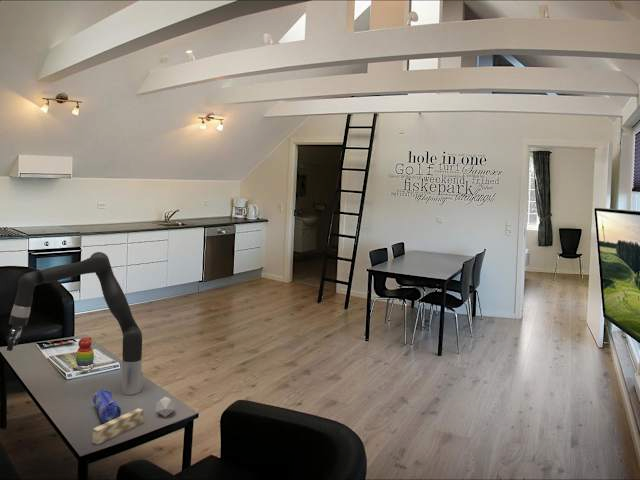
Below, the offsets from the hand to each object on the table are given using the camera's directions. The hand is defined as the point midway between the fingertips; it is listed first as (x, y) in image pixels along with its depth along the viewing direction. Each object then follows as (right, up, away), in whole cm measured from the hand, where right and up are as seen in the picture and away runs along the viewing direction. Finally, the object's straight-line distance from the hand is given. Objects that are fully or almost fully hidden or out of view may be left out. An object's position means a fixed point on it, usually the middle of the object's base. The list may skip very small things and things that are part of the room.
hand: (11, 347), depth 241 cm
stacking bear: (+12, -22, +49) cm, 55 cm away
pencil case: (+46, -31, -3) cm, 55 cm away
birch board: (+58, -33, -18) cm, 69 cm away
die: (+72, -32, +1) cm, 79 cm away
